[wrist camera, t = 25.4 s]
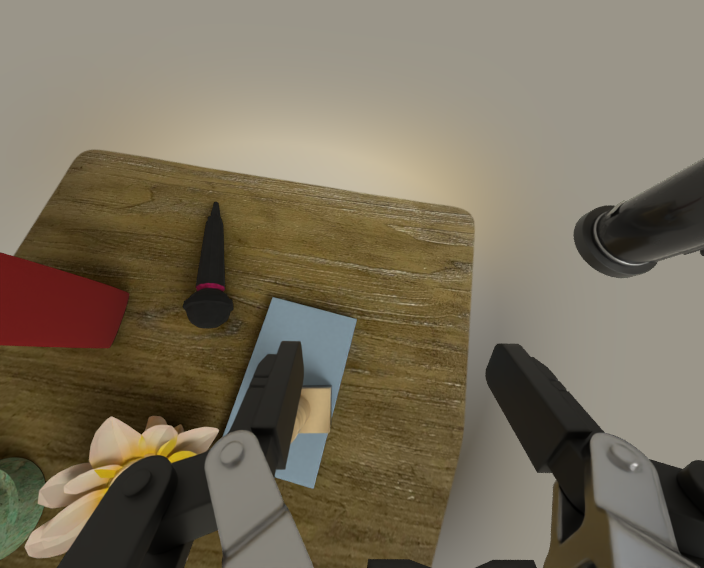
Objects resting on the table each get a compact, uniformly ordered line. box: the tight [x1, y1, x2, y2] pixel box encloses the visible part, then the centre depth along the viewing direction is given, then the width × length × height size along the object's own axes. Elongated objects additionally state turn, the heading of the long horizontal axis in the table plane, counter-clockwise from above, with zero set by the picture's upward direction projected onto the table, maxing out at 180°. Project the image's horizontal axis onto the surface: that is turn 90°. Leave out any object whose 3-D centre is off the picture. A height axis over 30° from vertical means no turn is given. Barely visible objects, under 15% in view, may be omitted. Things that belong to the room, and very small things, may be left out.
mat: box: [223, 297, 357, 488], centre depth 32 cm, size 12×20×1 cm, turn 165°
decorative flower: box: [25, 416, 219, 561], centre depth 25 cm, size 15×11×10 cm
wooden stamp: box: [291, 385, 332, 443], centre depth 26 cm, size 7×4×11 cm, turn 90°
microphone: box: [183, 202, 233, 328], centre depth 36 cm, size 6×6×20 cm
